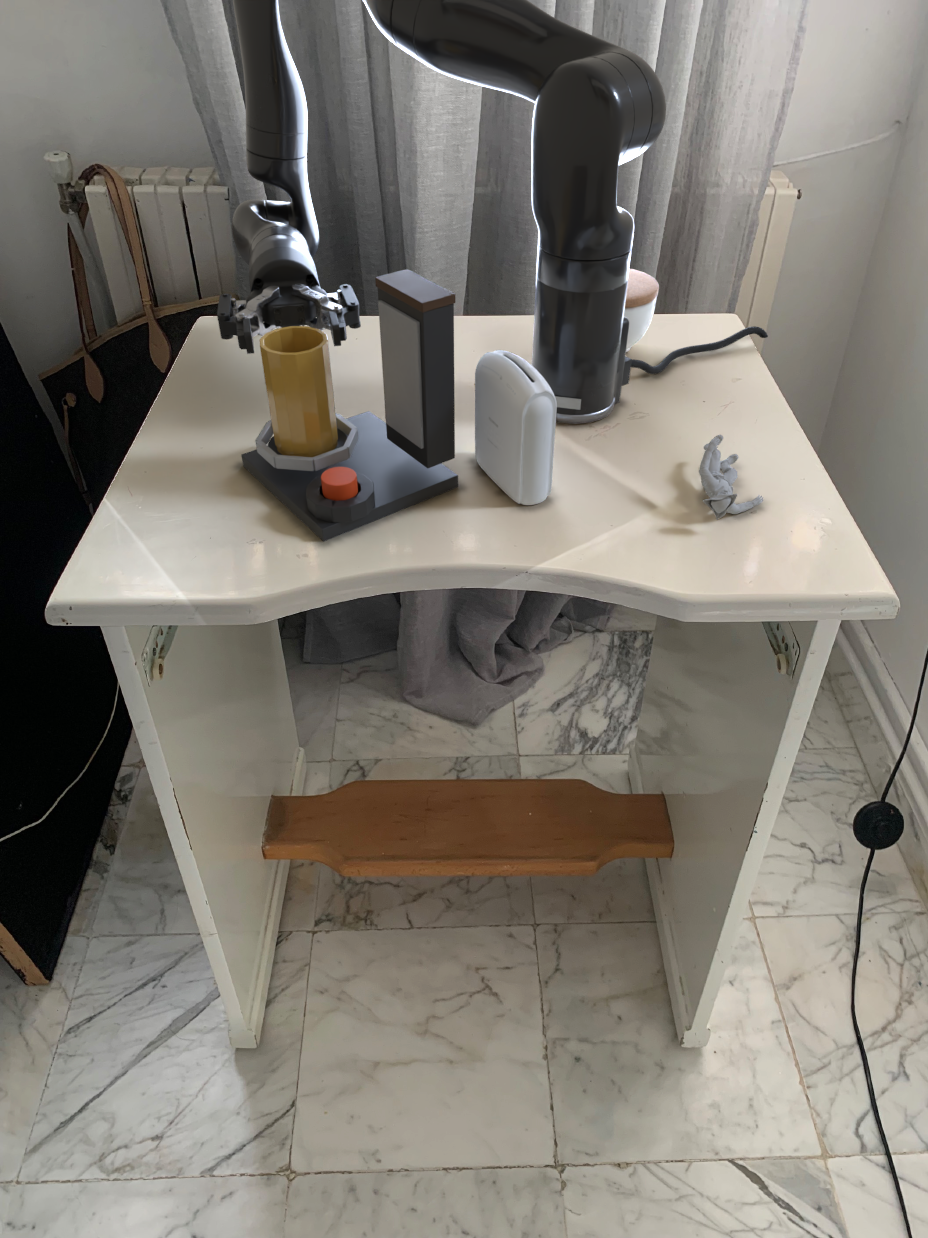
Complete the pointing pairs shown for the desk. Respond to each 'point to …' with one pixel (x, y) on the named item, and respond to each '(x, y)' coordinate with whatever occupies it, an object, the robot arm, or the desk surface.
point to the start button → (339, 483)
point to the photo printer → (514, 426)
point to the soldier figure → (721, 481)
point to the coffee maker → (402, 377)
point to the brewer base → (380, 478)
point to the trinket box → (639, 304)
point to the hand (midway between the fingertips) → (293, 340)
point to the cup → (299, 390)
